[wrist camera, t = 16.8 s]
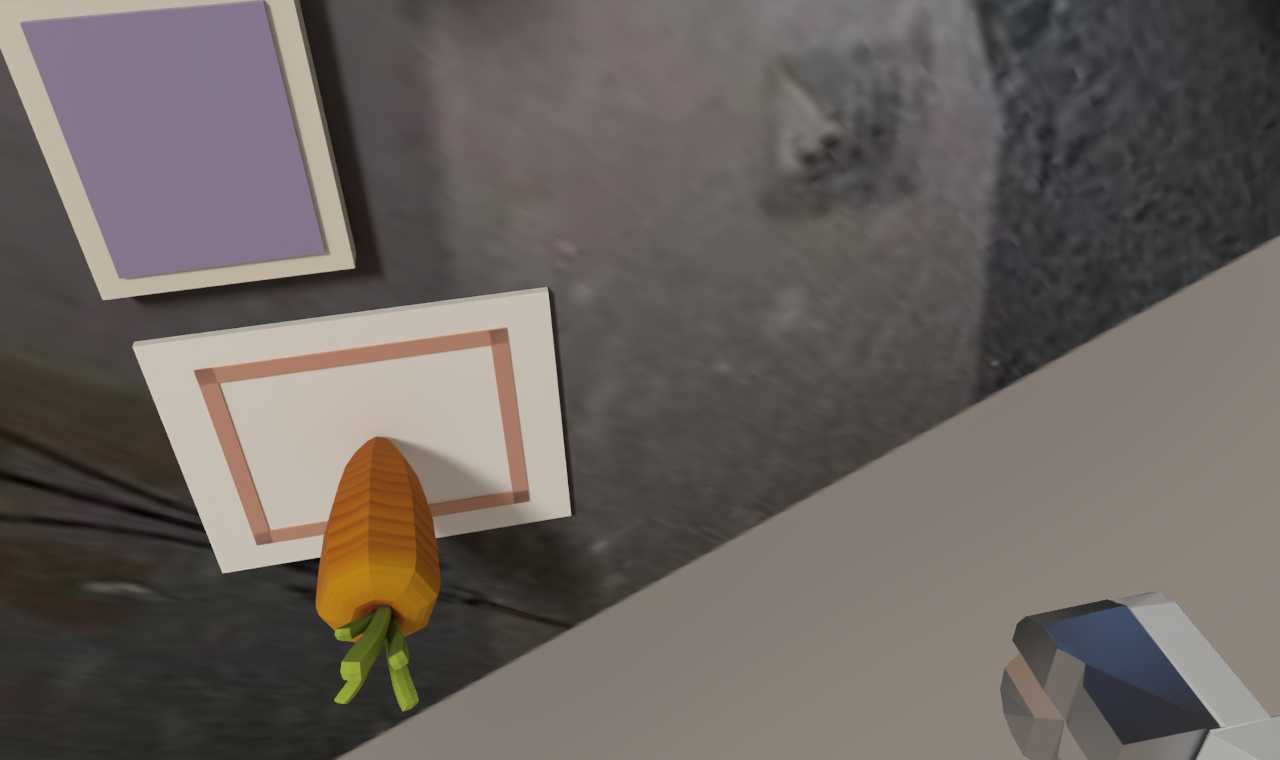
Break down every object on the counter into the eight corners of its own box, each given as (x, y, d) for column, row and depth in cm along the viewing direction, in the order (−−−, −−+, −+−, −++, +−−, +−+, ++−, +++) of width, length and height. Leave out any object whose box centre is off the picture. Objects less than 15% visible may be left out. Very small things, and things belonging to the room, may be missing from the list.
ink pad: (289, -44, 37) (285, -31, 35) (356, 251, 44) (354, 271, 42) (-8, -18, 35) (-25, -5, 34) (110, 281, 42) (101, 303, 41)
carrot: (437, 471, 51) (455, 722, 39) (335, 486, 50) (322, 747, 38) (423, 391, 48) (438, 636, 36) (315, 406, 47) (294, 661, 35)
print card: (547, 286, 47) (548, 292, 46) (570, 510, 55) (571, 517, 54) (134, 341, 44) (132, 348, 44) (223, 567, 52) (222, 574, 52)
